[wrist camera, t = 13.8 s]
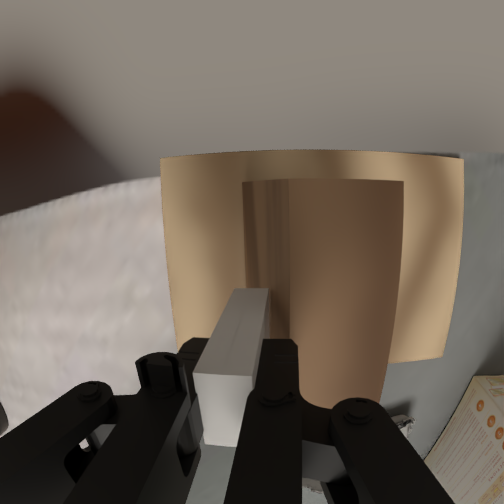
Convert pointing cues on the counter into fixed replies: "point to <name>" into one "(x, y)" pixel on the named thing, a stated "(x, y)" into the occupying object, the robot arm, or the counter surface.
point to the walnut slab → (328, 276)
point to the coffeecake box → (473, 446)
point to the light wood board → (311, 166)
